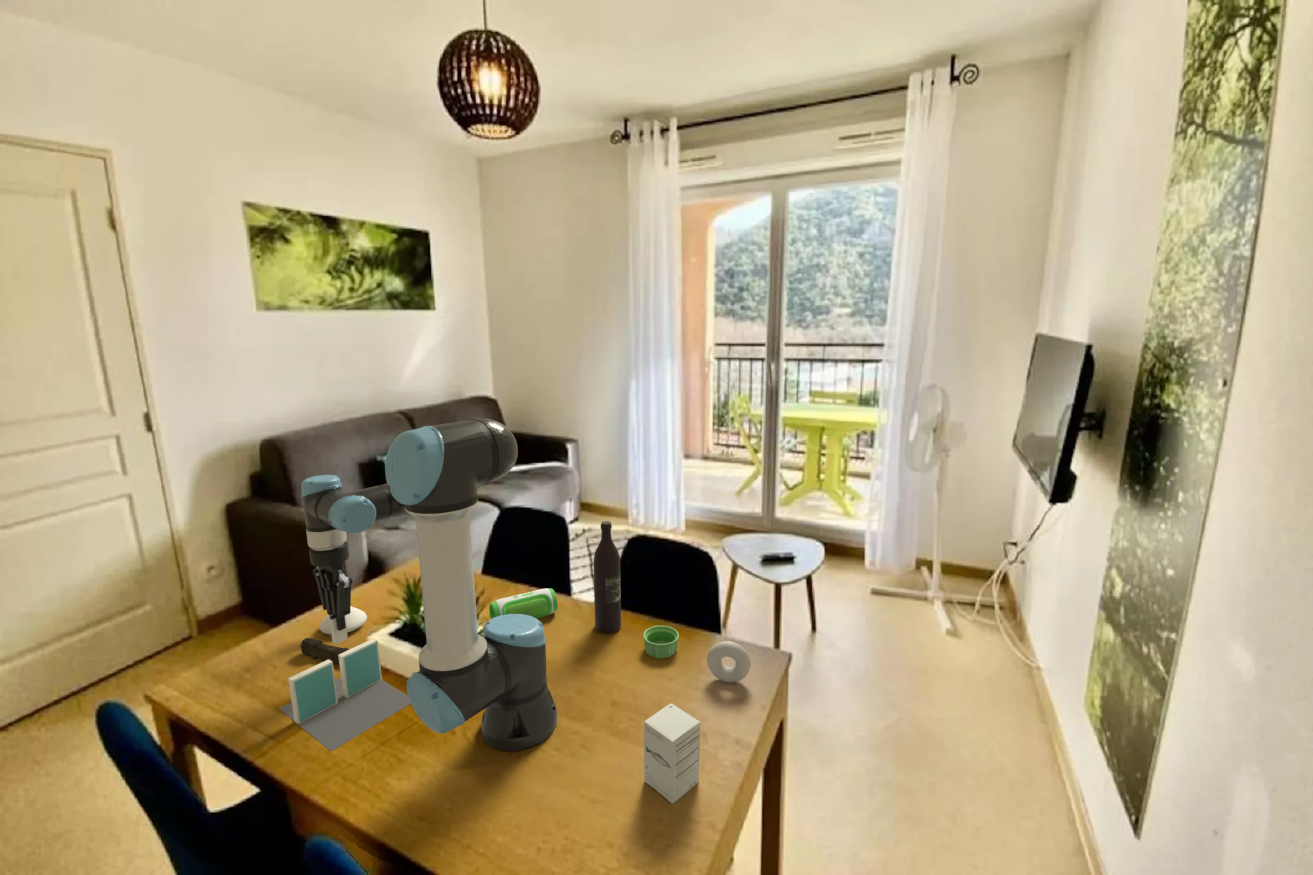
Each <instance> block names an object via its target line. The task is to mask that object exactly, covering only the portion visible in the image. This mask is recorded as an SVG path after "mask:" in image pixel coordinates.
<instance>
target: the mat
mask: <svg viewBox="0 0 1313 875" xmlns="http://www.w3.org/2000/svg"><path fill="white" fill-rule="evenodd" d="M335 684H336V692H337V700H338V703H337V704H336V705H334V706H332V707H330V708H328V709H326V710H324V711H323V712H321V713H319V714H317V715H315V716H313V717H311V718H309V719H308V720H306V721H304V722H302V723H300V724H297V725H298V726H299V727H300V728H301V729H303V730H304V731H305V732H307V733H308V734H309V735H311V737H312V738H314V739H315V740H317V741H318V742H319V743H320V744H322V746H324V747H325V748H326V749H328V750H329V752H333V751H334V750H336V749H337V748H339V747H341V746H343V745H344V744H346V743H348V742H349V741H351V740H352V739H355V738H356V737H358V736H360V735H361V734H362V733H364V732H366V731H368V730H370V729H371V728H372V727H375V726H376V725H378V724H379V723H381V722H383V721H384V720H386V719H388V718H389V717H392V716H393V715H394V714H396V713H398V712H399V711H401V710H403V709H404V708H406V707H407V706H410V705H412V704H411V702H410V700H409V697H408V694H407V693H405V692H402V691H401V690H400V689H398V688H396V687H395V686H393V685H392V684H390V683H388V682H387V681H385V680H383V679H382V680H380V681H378V682H377V683H375V684H373V685H371V686H369V687H367V688H365V689H364V690H362V691H360V692H358V693H356V694H354V695H352V696H351V697H349V698H346V697H345V696H343V689H342V681H341V676H340V677H338V678H337V679H336V678H335ZM278 709H279V711H281V712H282V713H283V714H284V715H285V716H287V717H288V718H289V719H291V721H293V722H294V723H296V722H295V721H294V714H293V708H292V701H291V702H289V703H287V704H285V705H283V706H281V707H279V708H278Z"/></svg>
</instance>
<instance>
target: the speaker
mask: <svg viewBox="0 0 1313 875" xmlns="http://www.w3.org/2000/svg"><path fill="white" fill-rule="evenodd" d="M558 606H559V605H558V598H557V594H556V592H555V590H554V589H553V588H540V589H537V590H533V591H528V592H524V593H520V594H519V593H518V594H516V595H515V594H514V595H511V596H508V597H507V596H506V597H502V598H498V599H496V600H494V601H492V602H491V603H489V606H488V607H489V616H490V619H492V618H494V617H497V616H501V615H506V614H523V615H528V616H532V617H534V618H536V619H538V620H539V619H541V618H544V617H546V616H549V615H552V614H553V613H555V612H556V611H558Z"/></svg>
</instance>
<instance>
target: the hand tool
mask: <svg viewBox="0 0 1313 875" xmlns="http://www.w3.org/2000/svg"><path fill="white" fill-rule="evenodd" d="M350 649H351V648H350ZM350 649H349V648H348V647H339V646H335V645H332V644H331V645H330V644H328V643H324V641H323V640H321V639H318V638H312V637H310V638H309V637H305V638H304V639H303V640H302V641H301V643H300V651H301V653H302V655H304V656H305V657H307V658H309V659H312V660H316V661H317V660H318V659H321V660H324V661H326V660H328V659H329V660H331V661H332V662H333V663H337V664H339V657H338V655H339V654H341V653H343V652H345V651H347V650H350Z"/></svg>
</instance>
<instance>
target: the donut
mask: <svg viewBox="0 0 1313 875" xmlns="http://www.w3.org/2000/svg"><path fill="white" fill-rule="evenodd" d="M726 657H728V658H732V659H733V660H734V662H735V665H733V666H727V665H725V664H724V663H723V660H722V659H723V658H726ZM706 661H707V667H708V670H709V671H710V673H711V674H712V675H713V676H714V677H715V678H716V679H718V680H720V681H722V682H724V683H728V682H729V683H730V682H732V683H737V682H740V681H742V680H744V679H745V678H746V677H747V675H748V674H749V673H750V669H751V664H752V663H751V658H750V655H749V654H748V652H747V650H746V649H745V648H744V647H743V646H742V645H740V644H738V643H737V642H734V641H731V640H726V641H725V640H724V641H720V642H717V643H715V644H714V645H713V646H711V648H710V649H709V651H708V652H707V658H706Z"/></svg>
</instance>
